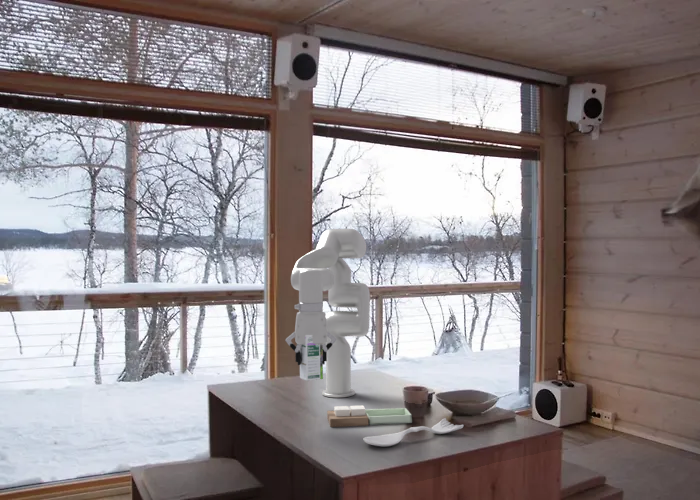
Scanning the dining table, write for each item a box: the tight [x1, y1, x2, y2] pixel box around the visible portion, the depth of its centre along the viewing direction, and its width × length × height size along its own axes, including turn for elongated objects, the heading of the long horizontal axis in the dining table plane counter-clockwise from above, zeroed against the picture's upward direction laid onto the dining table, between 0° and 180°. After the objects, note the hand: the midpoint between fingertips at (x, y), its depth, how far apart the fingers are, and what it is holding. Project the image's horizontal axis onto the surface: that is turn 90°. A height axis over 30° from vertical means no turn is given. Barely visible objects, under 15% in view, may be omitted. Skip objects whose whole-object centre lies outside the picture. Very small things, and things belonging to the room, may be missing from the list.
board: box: [326, 410, 369, 428], centre depth 202 cm, size 10×12×2 cm
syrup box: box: [299, 335, 324, 382], centre depth 200 cm, size 6×6×14 cm
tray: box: [365, 407, 413, 426], centre depth 204 cm, size 9×14×2 cm, turn 98°
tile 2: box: [349, 405, 366, 416], centre depth 203 cm, size 4×4×2 cm
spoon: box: [362, 417, 464, 448], centre depth 184 cm, size 9×32×4 cm, turn 121°
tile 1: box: [333, 405, 350, 416], centre depth 202 cm, size 4×4×2 cm
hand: (311, 363), depth 200 cm, fingers closed on syrup box, 7 cm apart
